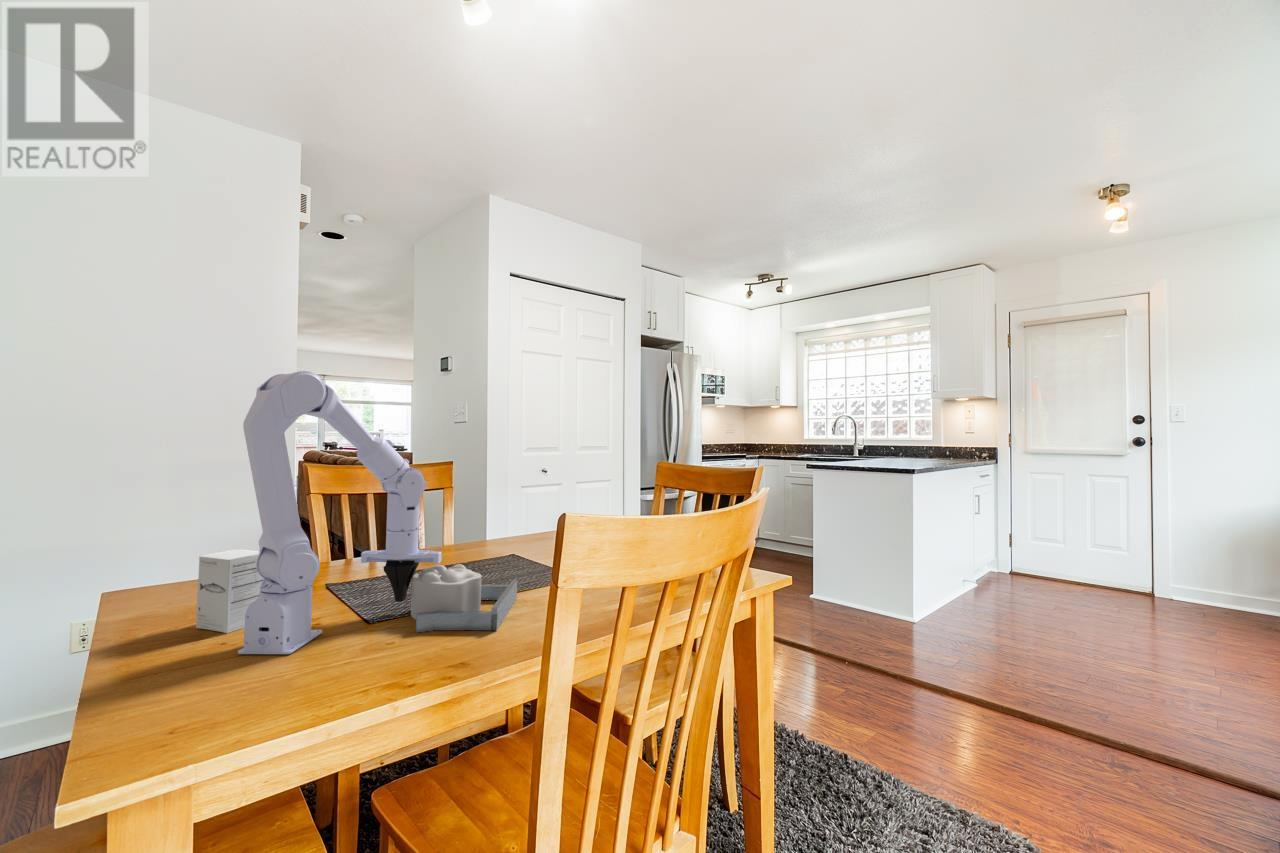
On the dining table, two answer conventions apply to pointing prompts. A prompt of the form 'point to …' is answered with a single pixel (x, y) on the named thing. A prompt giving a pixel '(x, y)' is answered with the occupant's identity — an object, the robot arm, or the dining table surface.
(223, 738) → the dining table surface
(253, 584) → the supplement box
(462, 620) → the bracket
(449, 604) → the lumpy-topped squat cylinder
